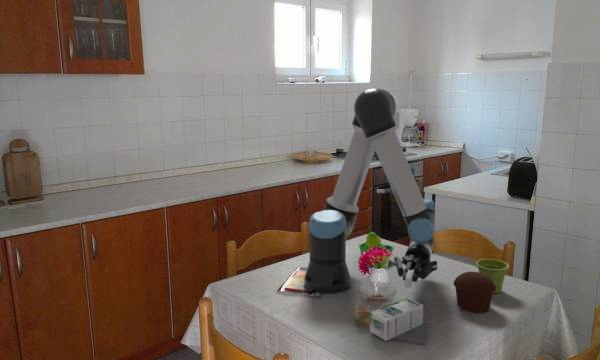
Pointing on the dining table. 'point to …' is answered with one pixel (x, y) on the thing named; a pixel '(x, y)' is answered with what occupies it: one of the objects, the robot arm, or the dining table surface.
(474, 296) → the muffin
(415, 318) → the syrup box
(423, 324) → the rubber mat
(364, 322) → the oak block
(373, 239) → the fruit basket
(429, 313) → the dining table surface
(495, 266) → the plant pot
